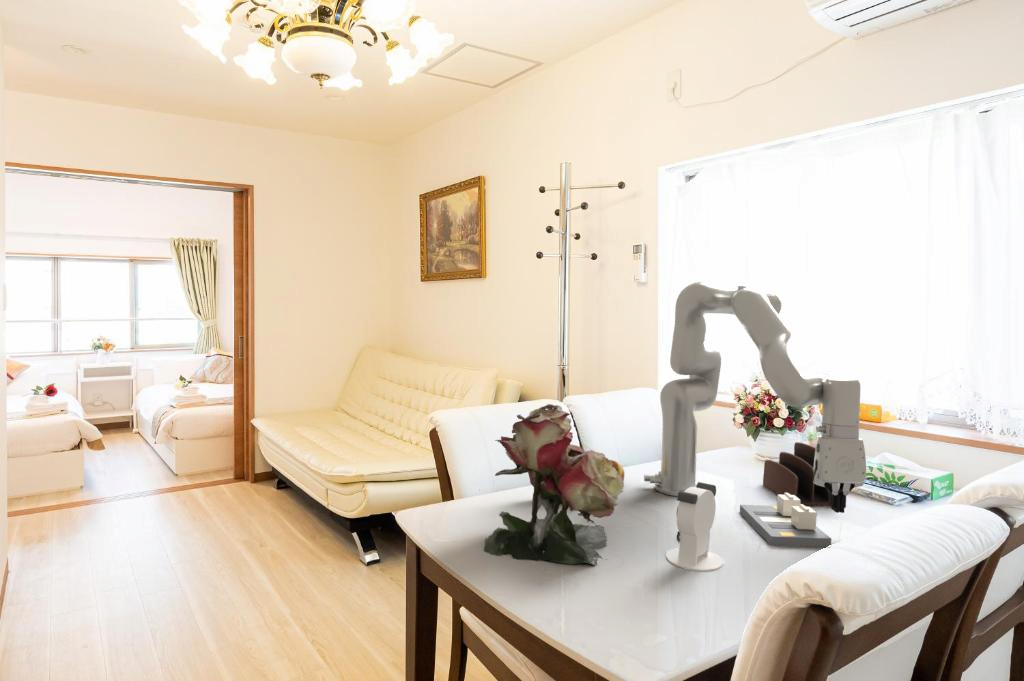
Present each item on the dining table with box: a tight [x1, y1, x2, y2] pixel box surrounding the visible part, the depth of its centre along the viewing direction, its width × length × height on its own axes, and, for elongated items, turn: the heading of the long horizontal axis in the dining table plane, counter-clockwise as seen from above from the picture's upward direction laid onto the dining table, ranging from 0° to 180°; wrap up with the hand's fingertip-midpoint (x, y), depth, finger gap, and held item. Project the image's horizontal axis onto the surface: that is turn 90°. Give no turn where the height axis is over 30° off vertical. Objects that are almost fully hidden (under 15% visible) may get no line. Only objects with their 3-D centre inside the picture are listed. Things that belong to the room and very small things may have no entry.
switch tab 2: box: [791, 504, 818, 530], centre depth 147 cm, size 4×4×5 cm
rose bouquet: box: [479, 403, 625, 566], centre depth 140 cm, size 26×29×30 cm
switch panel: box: [739, 504, 832, 548], centre depth 152 cm, size 13×22×2 cm, turn 178°
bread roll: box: [609, 459, 625, 479], centre depth 188 cm, size 13×10×8 cm
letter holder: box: [762, 442, 830, 507], centre depth 179 cm, size 10×20×14 cm, turn 3°
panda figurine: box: [665, 481, 724, 572], centre depth 132 cm, size 12×11×15 cm
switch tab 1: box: [776, 493, 801, 516], centre depth 156 cm, size 4×4×5 cm
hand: (837, 510), depth 146 cm, fingers closed
